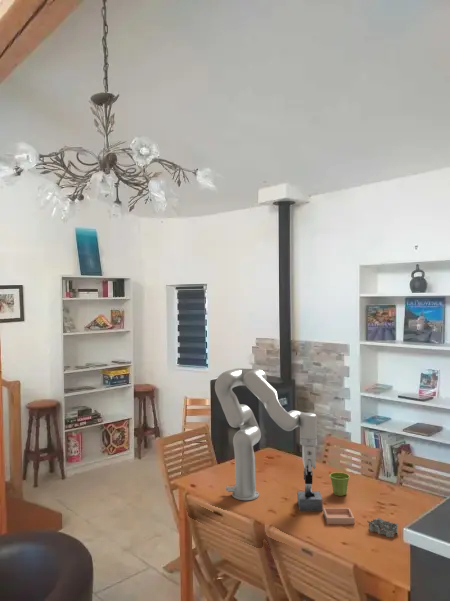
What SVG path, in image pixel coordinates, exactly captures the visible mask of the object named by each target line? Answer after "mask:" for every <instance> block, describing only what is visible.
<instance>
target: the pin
mask: <svg viewBox="0 0 450 601" xmlns="http://www.w3.org/2000/svg"><path fill="white" fill-rule="evenodd" d="M304 475H306V470H305V471H303V476H304ZM312 476H313V471H312ZM312 484H313V483H312ZM312 484H305V483H304V491H305V495H307V496H311V495H312V491H313V490H312Z"/></svg>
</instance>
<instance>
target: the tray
mask: <svg viewBox="0 0 450 601" xmlns="http://www.w3.org/2000/svg"><path fill="white" fill-rule="evenodd" d="M322 512H323V517H324V520H325V522H326V525H355V522H356V521H355V517H354V514H353V513H352V510H351V507H323V511H322Z"/></svg>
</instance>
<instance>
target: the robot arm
mask: <svg viewBox="0 0 450 601" xmlns="http://www.w3.org/2000/svg"><path fill="white" fill-rule="evenodd" d="M267 380H268V378H267V374H266V372H265V371H263V369H260V368H239V367H238V368H233V369H229V370H226V371H223V372H222V373H221V374H220V375H218V376H217V378H216V380H215V384H214V390H215V394H216V396H217V399H218V402H219V403H220V406H221V409H222V412H223V413H224V415H225V418H226V421H227V423H228V424H229V425H228V426H230V427H231V428H240V429H239V430H238V431H236V432H235V433H234V435H233V439H232V445H233V451H234V480H235V481H234V482H235V483H234V485H232V486H225V491H228V493H231V497H232V498H234V499H235V500H239V501H252V500H256V499H257V498H259V495H260V493H259V491H257V490H256V456H255V451H254V446H255V445H257V443H259V442H260V440H261V436H262V432H261V428H260V427H259V424H258V422H257V419H256V417H255V415H254V412H253V410H252V409H251V408H250V407H249V406H248V405H247V404H243V403H242V404H240V401H239V399H238V397H237V395H236V393H235V392H234V391H233V389H234V388H235V387H239V386H245V387H246V388H247V389H248V390H249V391H250V392H251V393H252V394H253V395H254V396H255V398H256V397H257V399H258V400H259V401H260V402H261V403H262V404H263V406H264V408H265V410H266V412H267V414H268V416H269V417H270V418H271V420H273V422H275V424H276V425H278V427H280V428H281V429H282V430H284V431H286V432H291V431H293V430H294V429H296V428H298V427H299V445H301V448H302V450H301V451H302V453H301V454H302V457H301V458H302V464H303V466H304V467H303V470H304V471H305V470H306V475H304V474H303V480H304V485H305V484H313V475H312V472H313V469H314V470H315V469H316V468H317V467H316V447H317V445H318V416H317V414H315V413H313V412H303V411H299V410H296V409H294V410H293V409H292V410H290V411H287V410H286V409H285V408H284V407H283V406H282V405H281V403H280V402H279V399H278V398H279V397H278V392H277V390H276V389H275V388H274V387H273V386H272V385H271V384H270V383H269V382H268V381H267ZM304 471H303V472H304Z"/></svg>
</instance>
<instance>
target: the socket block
mask: <svg viewBox="0 0 450 601" xmlns="http://www.w3.org/2000/svg"><path fill="white" fill-rule="evenodd" d="M296 493H297V504H298V509H299V512H300V511H301V512H304V511H305V512H310V511H311V512H323V508H324V506H323V504H324V503H323V497H322V494H321V492H320V490H312V495H311V496H307V495H305V490H297V492H296Z"/></svg>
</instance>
